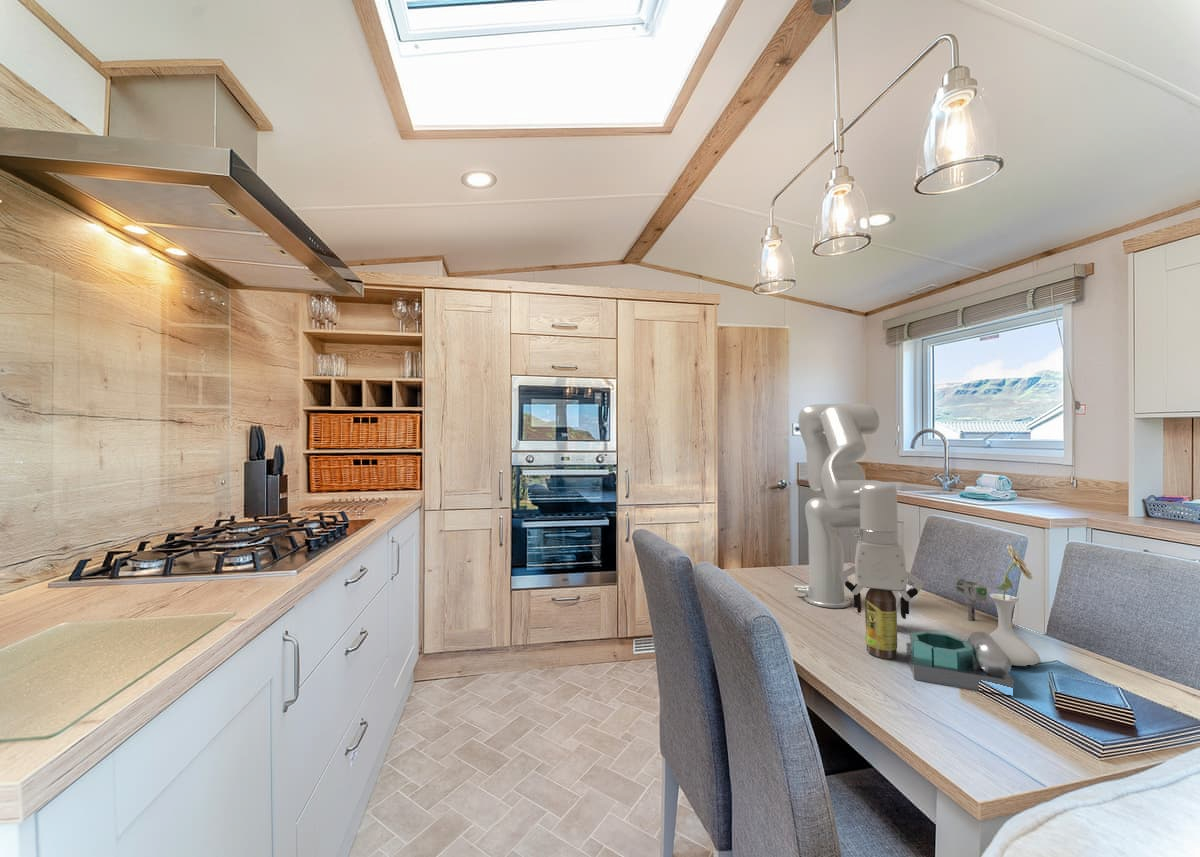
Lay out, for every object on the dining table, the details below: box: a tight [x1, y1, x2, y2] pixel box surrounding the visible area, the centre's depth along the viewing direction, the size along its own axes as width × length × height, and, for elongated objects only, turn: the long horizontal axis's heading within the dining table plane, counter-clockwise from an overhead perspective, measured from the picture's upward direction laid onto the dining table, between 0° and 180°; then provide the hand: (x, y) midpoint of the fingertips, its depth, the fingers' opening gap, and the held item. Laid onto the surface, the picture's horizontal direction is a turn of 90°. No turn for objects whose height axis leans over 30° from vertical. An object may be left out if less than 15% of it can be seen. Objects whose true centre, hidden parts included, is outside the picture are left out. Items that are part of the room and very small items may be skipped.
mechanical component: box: [955, 578, 988, 621], centre depth 133 cm, size 3×10×10 cm, turn 174°
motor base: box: [906, 630, 1015, 692], centre depth 102 cm, size 16×12×8 cm
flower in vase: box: [988, 544, 1041, 667], centre depth 109 cm, size 13×11×25 cm
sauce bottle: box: [864, 588, 898, 660], centre depth 112 cm, size 6×6×20 cm
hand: (880, 613), depth 112 cm, fingers open, 8 cm apart
